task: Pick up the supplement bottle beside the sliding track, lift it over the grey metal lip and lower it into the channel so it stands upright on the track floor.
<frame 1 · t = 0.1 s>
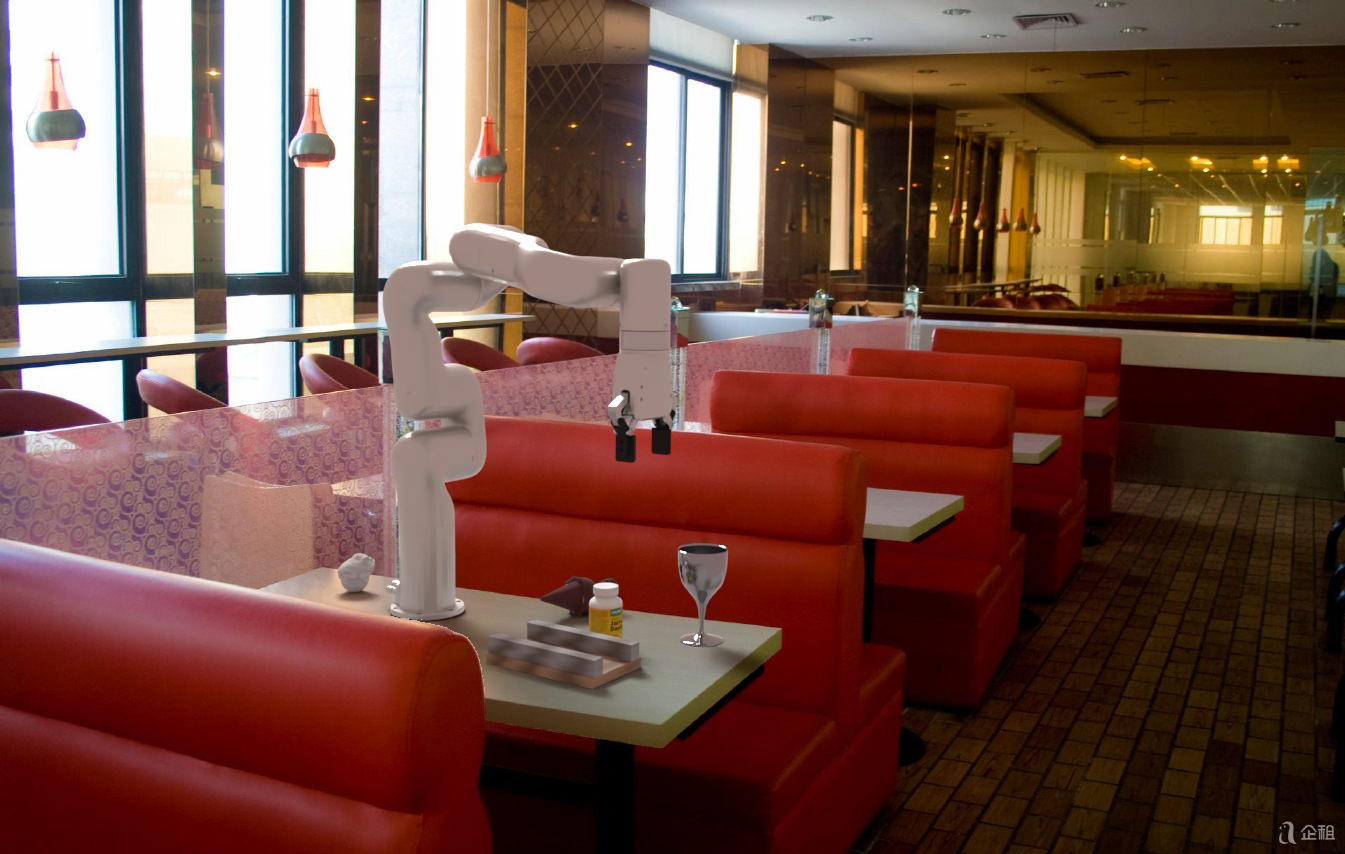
hand: (643, 457, 179), 31 cm above the table, fingers open, 9 cm apart
supplement bottle: (605, 645, 190), on the table
wine glass: (701, 641, 193), on the table
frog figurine: (356, 592, 219), on the table
sliding track: (563, 664, 179), on the table
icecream: (578, 615, 207), on the table
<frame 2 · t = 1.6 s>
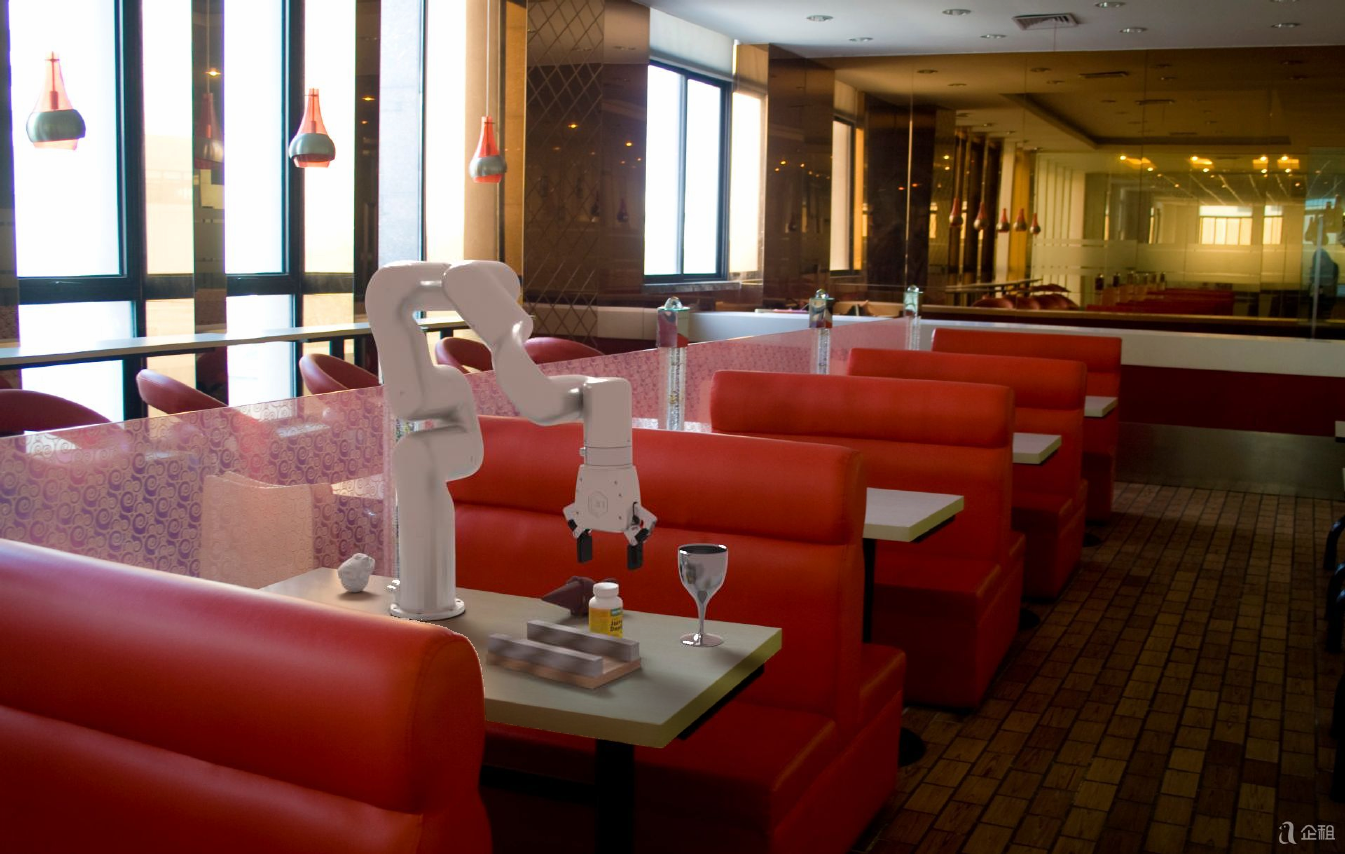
hand: (609, 565, 188), 13 cm above the table, fingers open, 9 cm apart
nothing on the table moved.
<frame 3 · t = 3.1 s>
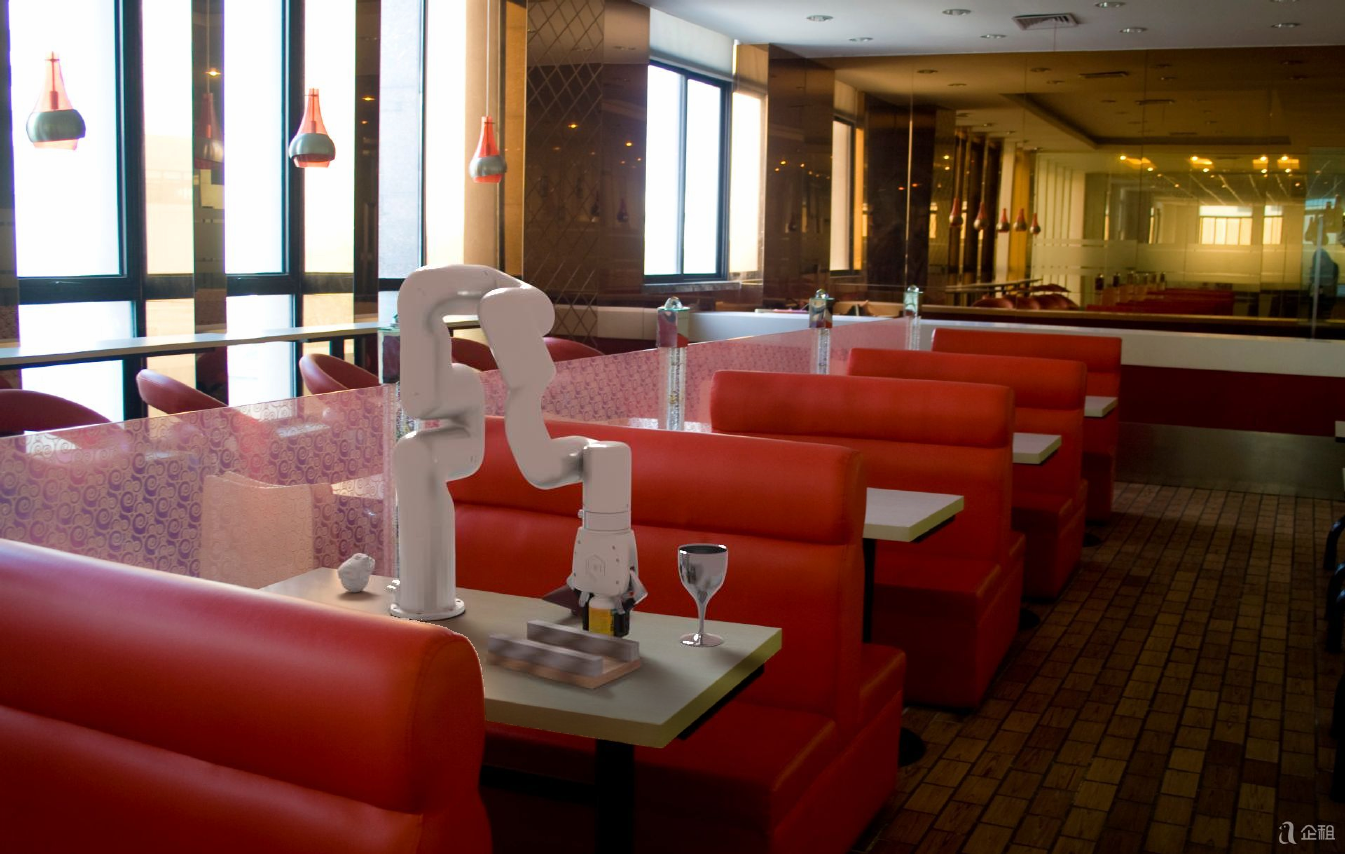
hand: (605, 632, 189), 2 cm above the table, fingers closed on supplement bottle, 5 cm apart
supplement bottle: (605, 645, 190), on the table, touching gripper
everything else where it was.
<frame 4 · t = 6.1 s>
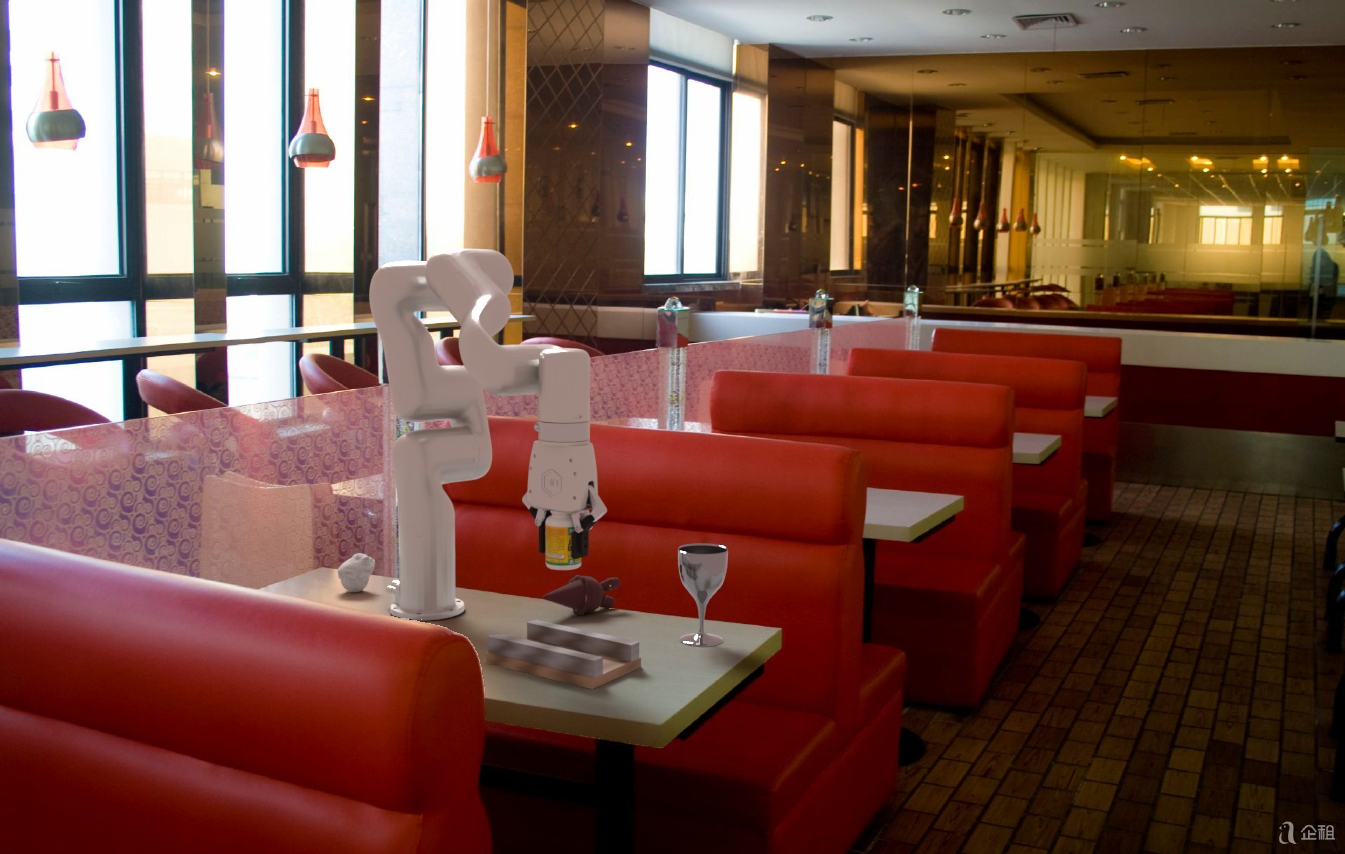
hand: (563, 553, 177), 17 cm above the table, fingers closed on supplement bottle, 5 cm apart
supplement bottle: (563, 567, 177), point 15 cm above the table, touching gripper
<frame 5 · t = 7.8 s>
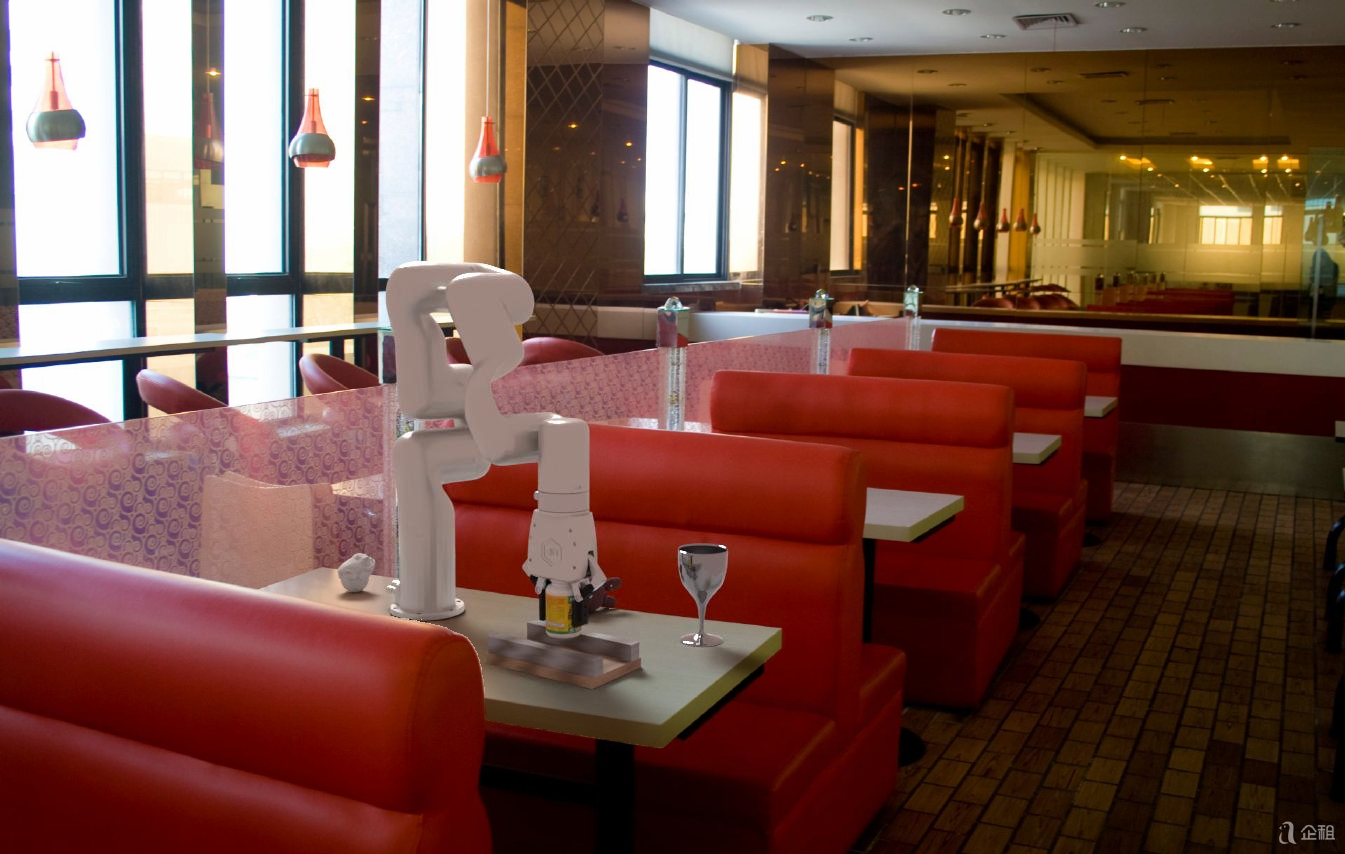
hand: (563, 620, 178), 7 cm above the table, fingers closed on supplement bottle, 5 cm apart
supplement bottle: (563, 635, 179), point 5 cm above the table, touching gripper
when the fingers open (5 cm above the table, at t = 9.1 s): supplement bottle drops 1 cm, resting on sliding track.
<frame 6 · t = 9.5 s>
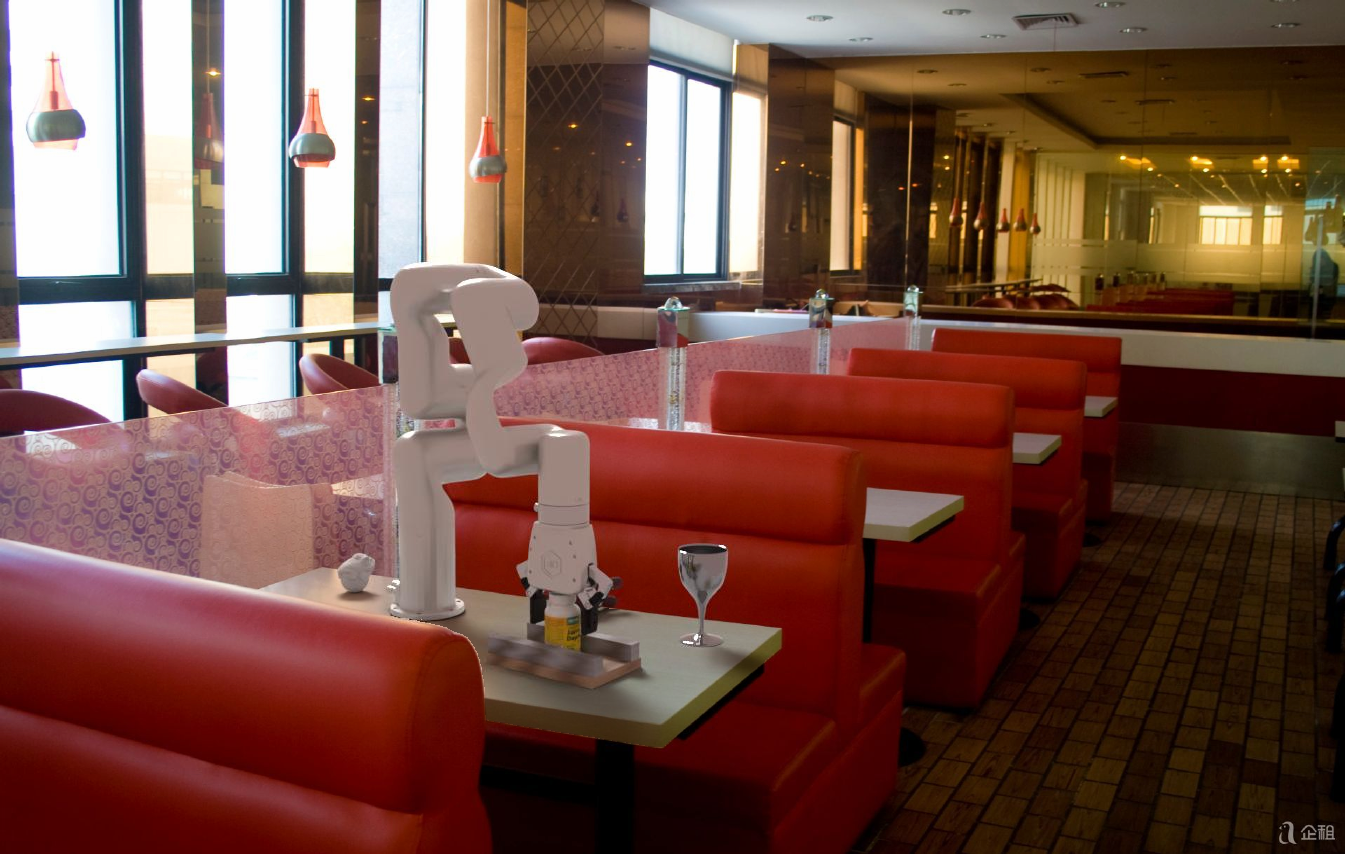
hand: (563, 627, 178), 6 cm above the table, fingers open, 9 cm apart
supplement bottle: (562, 656, 179), point 1 cm above the table, touching sliding track
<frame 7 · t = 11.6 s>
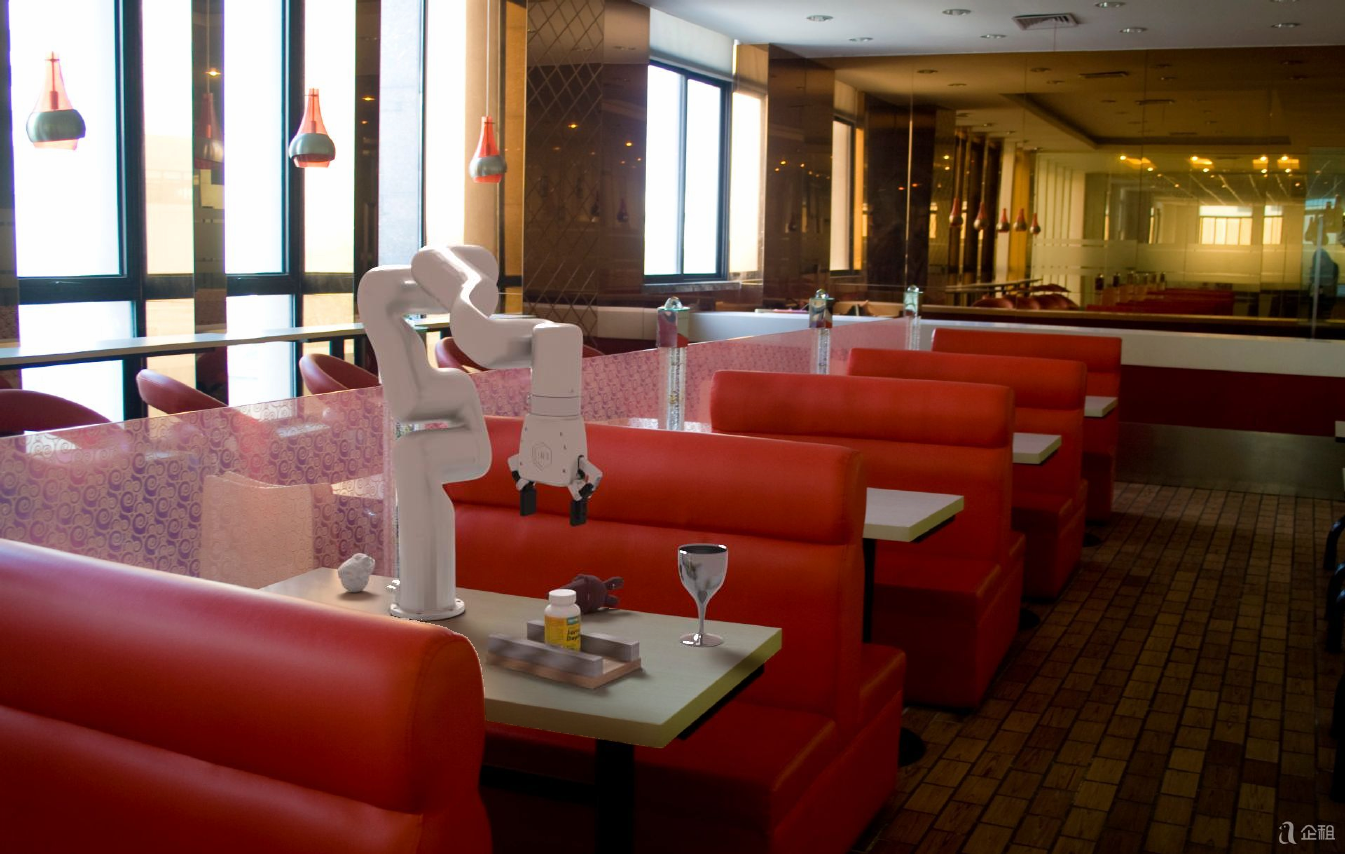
hand: (552, 519, 180), 21 cm above the table, fingers open, 9 cm apart
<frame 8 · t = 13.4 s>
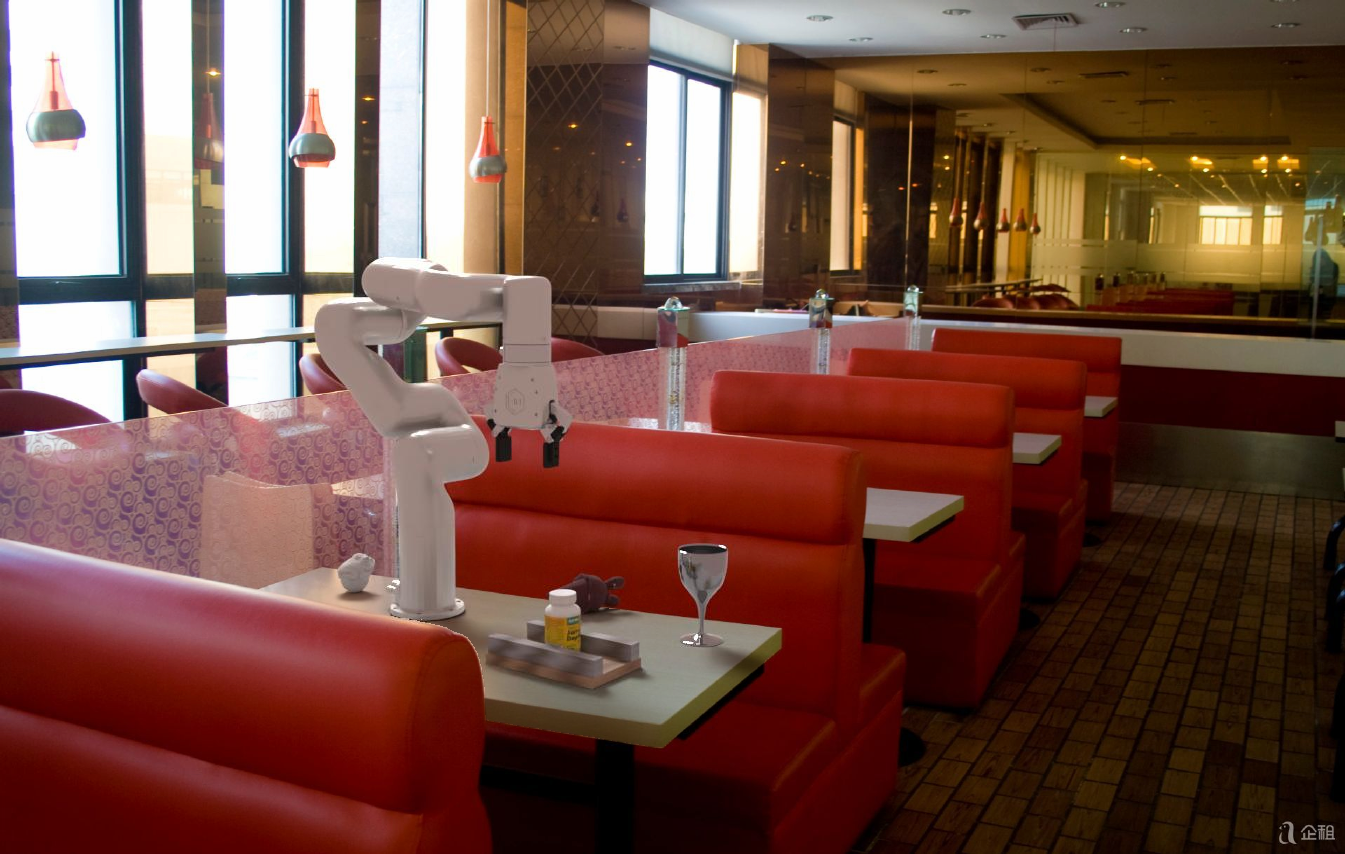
hand: (526, 464, 189), 28 cm above the table, fingers open, 9 cm apart
at the end: supplement bottle inside the target area on the sliding track (0.2 cm from its centre), point 1.3 cm above the sliding track's base; supplement bottle tilted 0°; the gripper is holding nothing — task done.
